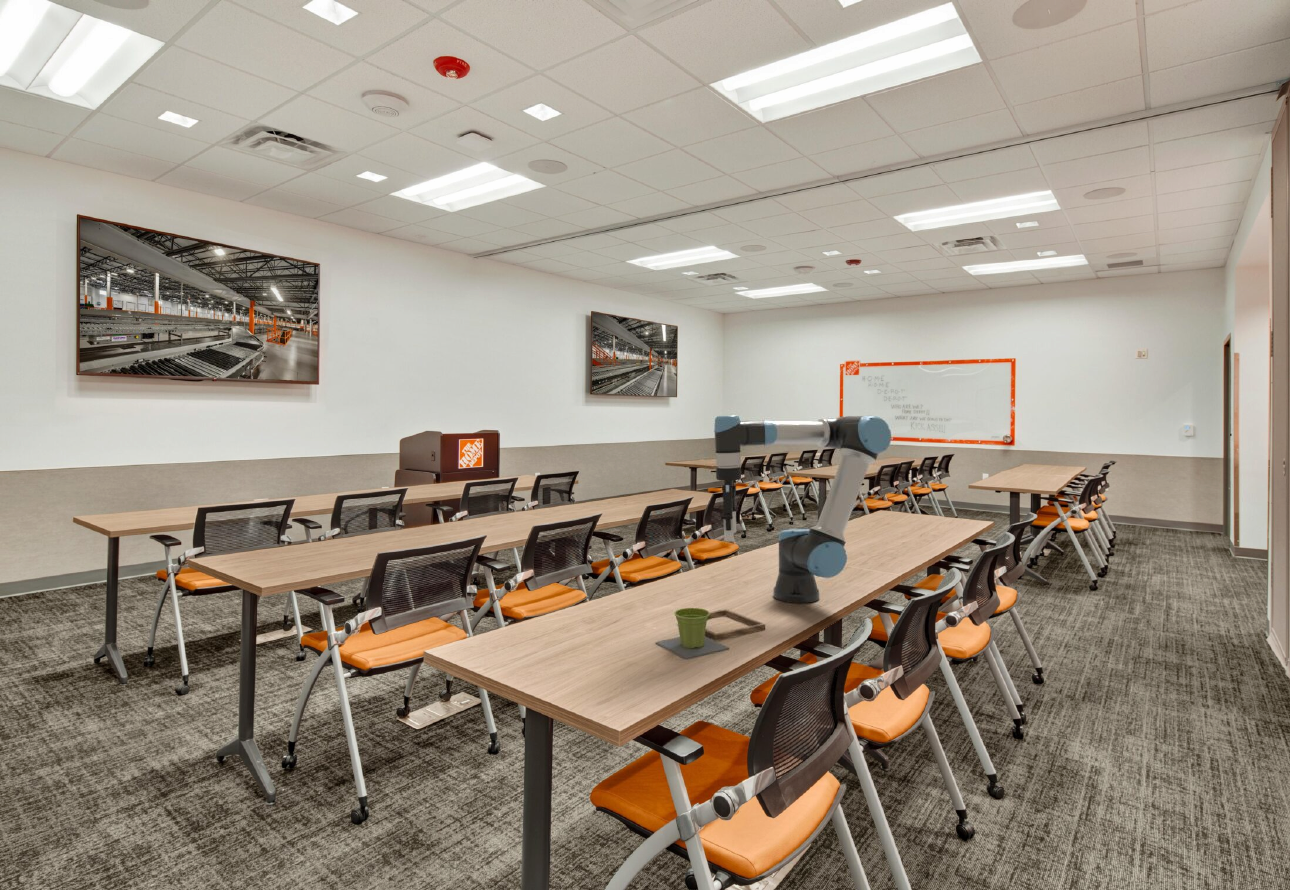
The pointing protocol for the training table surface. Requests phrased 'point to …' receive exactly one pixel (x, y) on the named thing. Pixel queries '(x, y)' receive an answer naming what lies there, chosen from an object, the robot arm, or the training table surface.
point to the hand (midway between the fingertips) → (730, 536)
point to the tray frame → (753, 628)
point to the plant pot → (692, 626)
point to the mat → (688, 653)
